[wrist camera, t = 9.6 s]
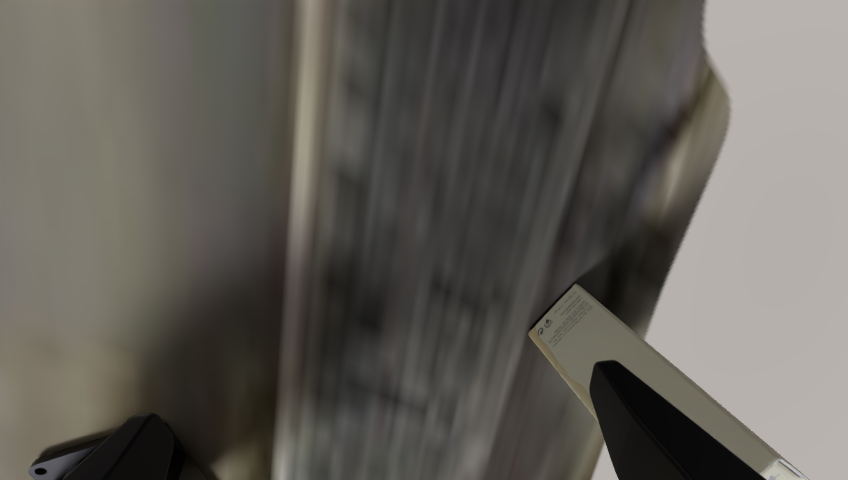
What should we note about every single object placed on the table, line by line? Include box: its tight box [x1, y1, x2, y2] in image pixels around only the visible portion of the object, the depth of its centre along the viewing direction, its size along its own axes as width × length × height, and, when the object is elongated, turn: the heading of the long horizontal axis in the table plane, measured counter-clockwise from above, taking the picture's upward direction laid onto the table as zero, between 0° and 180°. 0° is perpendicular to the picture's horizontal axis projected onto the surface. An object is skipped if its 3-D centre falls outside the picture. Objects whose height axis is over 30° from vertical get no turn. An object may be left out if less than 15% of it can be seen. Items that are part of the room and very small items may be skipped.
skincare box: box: [529, 284, 809, 480], centre depth 21 cm, size 6×4×12 cm
